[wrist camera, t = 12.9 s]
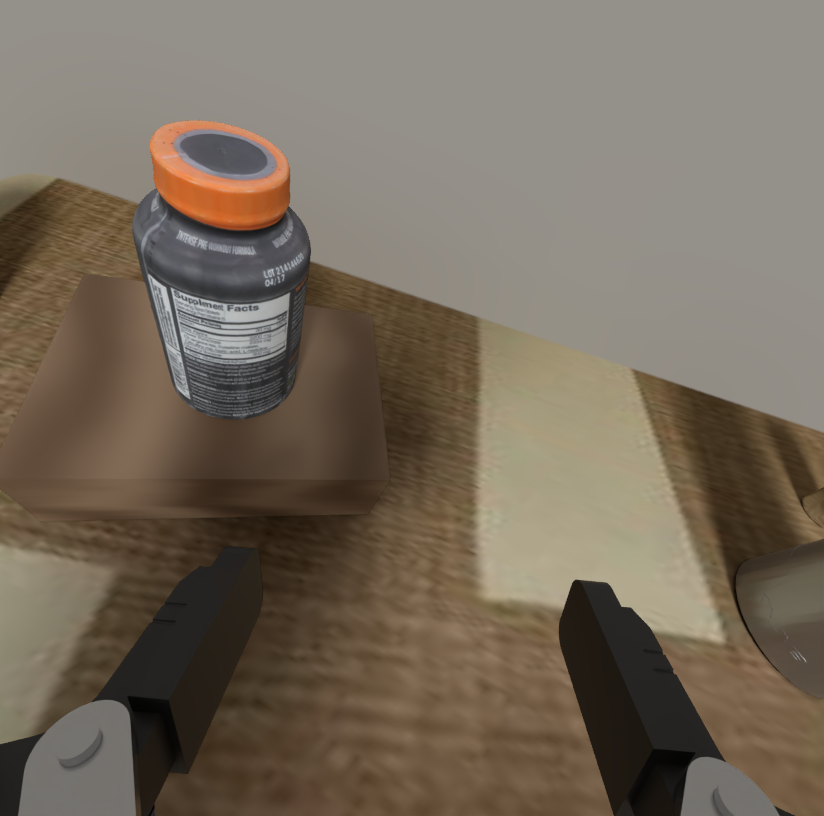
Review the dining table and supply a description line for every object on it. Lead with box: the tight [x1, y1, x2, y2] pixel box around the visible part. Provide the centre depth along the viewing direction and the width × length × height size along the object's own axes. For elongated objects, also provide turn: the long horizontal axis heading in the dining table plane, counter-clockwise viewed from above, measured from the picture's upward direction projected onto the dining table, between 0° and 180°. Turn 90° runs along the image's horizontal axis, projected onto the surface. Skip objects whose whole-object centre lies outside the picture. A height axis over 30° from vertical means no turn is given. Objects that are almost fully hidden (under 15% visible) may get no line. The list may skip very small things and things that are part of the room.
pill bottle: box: [133, 120, 311, 420], centre depth 17 cm, size 6×6×11 cm
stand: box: [0, 273, 390, 522], centre depth 23 cm, size 16×12×5 cm
